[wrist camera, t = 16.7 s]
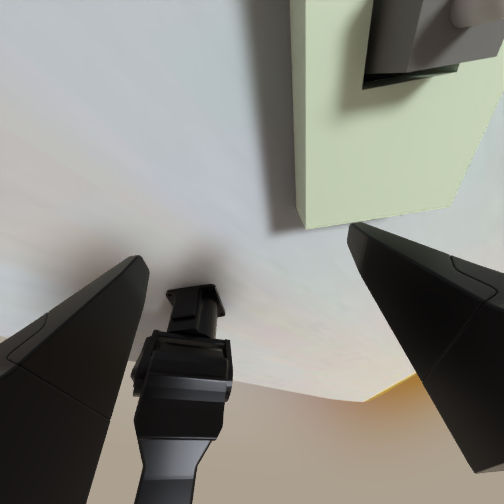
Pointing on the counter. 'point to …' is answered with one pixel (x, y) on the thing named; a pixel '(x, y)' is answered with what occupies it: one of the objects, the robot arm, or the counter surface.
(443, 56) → the plug
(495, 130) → the counter surface
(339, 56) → the socket
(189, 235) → the counter surface
